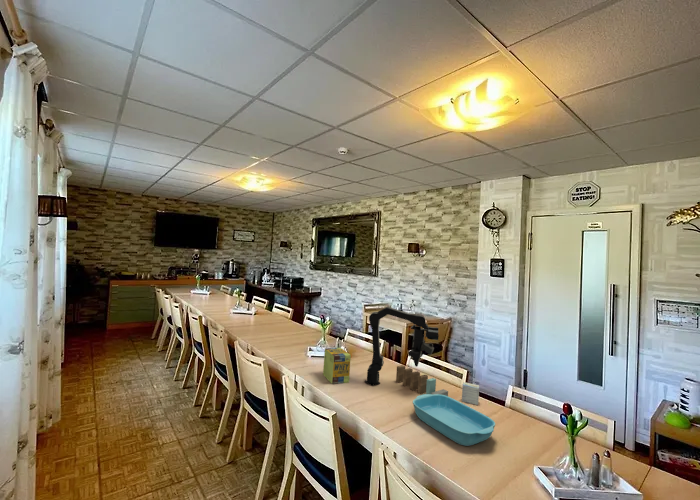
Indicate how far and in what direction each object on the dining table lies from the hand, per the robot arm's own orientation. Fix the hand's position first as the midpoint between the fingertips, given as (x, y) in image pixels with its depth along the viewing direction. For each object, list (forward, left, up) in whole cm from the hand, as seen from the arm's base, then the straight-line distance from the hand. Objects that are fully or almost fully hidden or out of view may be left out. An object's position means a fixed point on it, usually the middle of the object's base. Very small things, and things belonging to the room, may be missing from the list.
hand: (416, 366), depth 174 cm
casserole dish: (-16, -35, -13) cm, 40 cm away
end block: (0, -16, -13) cm, 20 cm away
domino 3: (0, 0, -13) cm, 13 cm away
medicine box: (+14, -25, -13) cm, 31 cm away
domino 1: (0, +11, -13) cm, 17 cm away
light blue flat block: (0, -10, -13) cm, 16 cm away
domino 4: (0, -5, -13) cm, 14 cm away
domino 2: (0, +6, -13) cm, 14 cm away
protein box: (-31, +32, -13) cm, 47 cm away
